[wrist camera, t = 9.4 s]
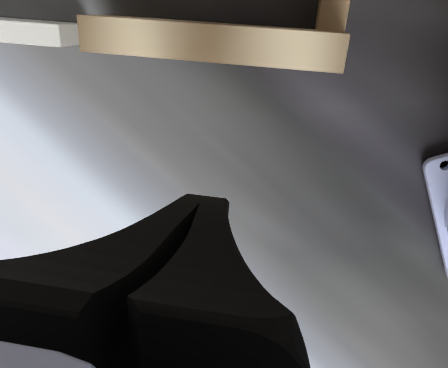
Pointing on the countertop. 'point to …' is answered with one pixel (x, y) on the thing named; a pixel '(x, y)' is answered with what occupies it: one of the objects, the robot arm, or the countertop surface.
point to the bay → (224, 40)
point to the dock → (38, 32)
